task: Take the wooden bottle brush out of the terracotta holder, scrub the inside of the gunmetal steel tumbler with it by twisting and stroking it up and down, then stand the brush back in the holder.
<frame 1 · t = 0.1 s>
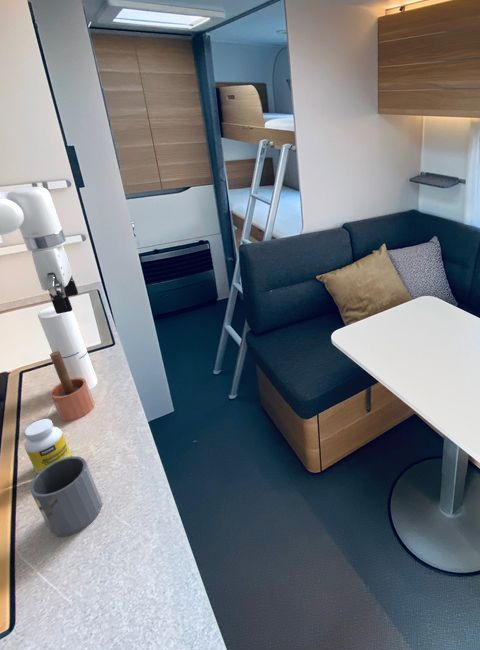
hand: (68, 303, 103), 28 cm above the worktop, tool pointing down, fingers open, 9 cm apart
tumbler: (76, 514, 81), on the worktop
holder: (77, 411, 108), on the worktop
brush: (77, 410, 107), resting on holder
pill bottle: (55, 466, 92), on the worktop
cylindrical container: (83, 387, 117), on the worktop
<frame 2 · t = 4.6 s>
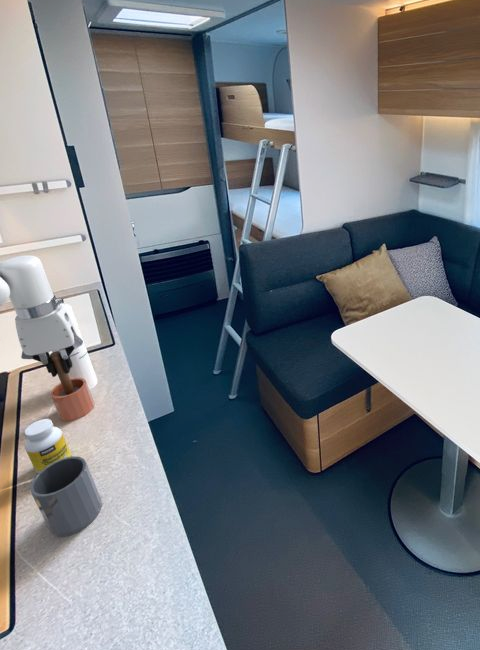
hand: (61, 371, 102), 13 cm above the worktop, tool pointing down, fingers closed on brush, 2 cm apart
brush: (77, 410, 107), point 1 cm above the worktop, touching gripper, holder
everything else where it was.
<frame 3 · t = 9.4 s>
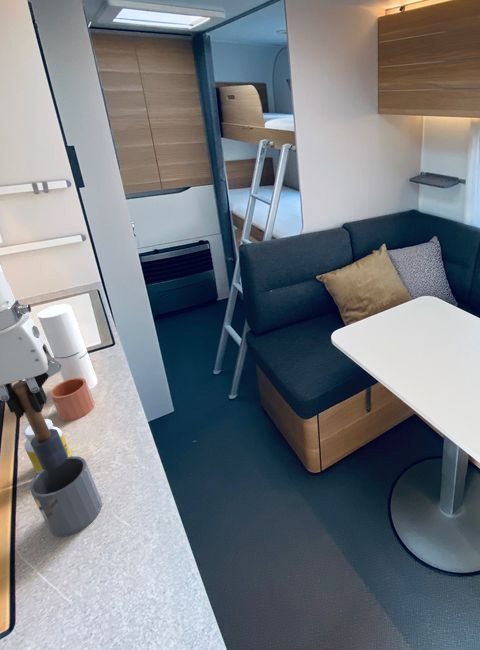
hand: (31, 409, 71), 26 cm above the worktop, tool pointing down, fingers closed on brush
brush: (55, 461, 76), point 14 cm above the worktop, touching gripper
everything else where it was.
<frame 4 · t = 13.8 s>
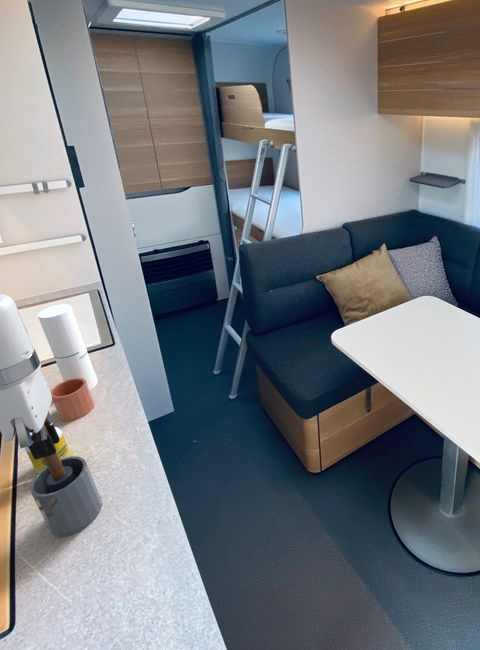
hand: (47, 449, 74), 18 cm above the worktop, tool pointing down, fingers closed on brush
brush: (69, 497, 79), point 5 cm above the worktop, touching gripper
everything else where it was.
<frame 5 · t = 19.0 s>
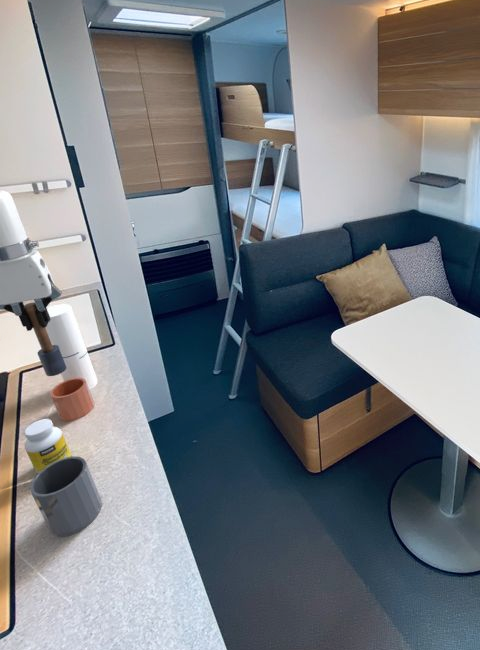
hand: (38, 325, 92), 29 cm above the worktop, tool pointing down, fingers closed on brush
brush: (56, 370, 97), point 17 cm above the worktop, touching gripper
everything else where it was.
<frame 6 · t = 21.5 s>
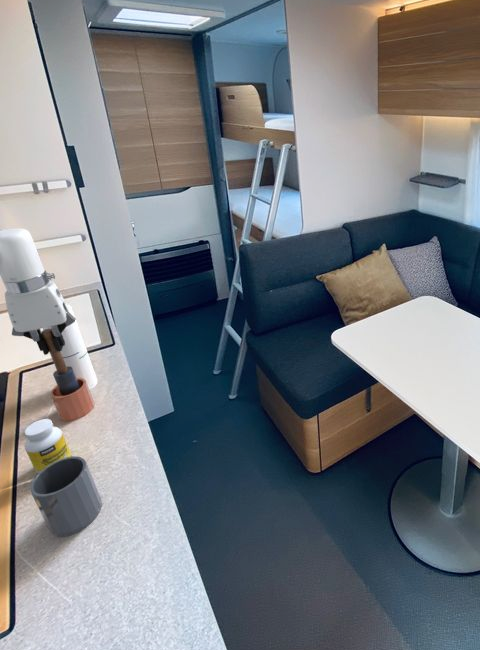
hand: (54, 349, 100), 20 cm above the worktop, tool pointing down, fingers closed on brush
brush: (70, 390, 105), point 7 cm above the worktop, touching gripper
everything else where it was.
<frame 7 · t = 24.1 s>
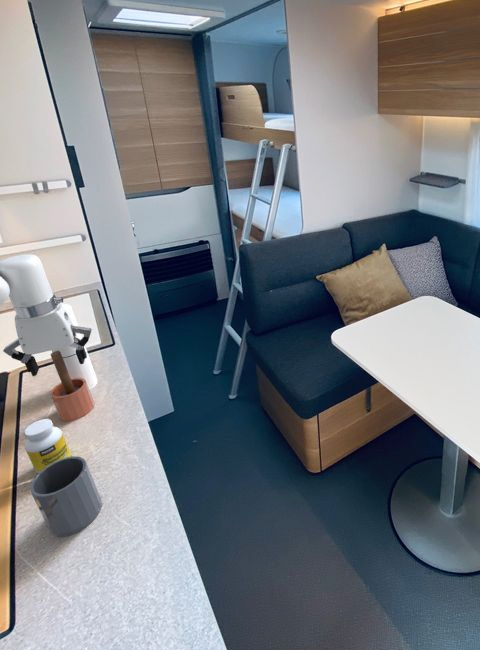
hand: (59, 366, 102), 14 cm above the worktop, tool pointing down, fingers open, 9 cm apart
brush: (77, 409, 107), resting on holder
everything else where it was.
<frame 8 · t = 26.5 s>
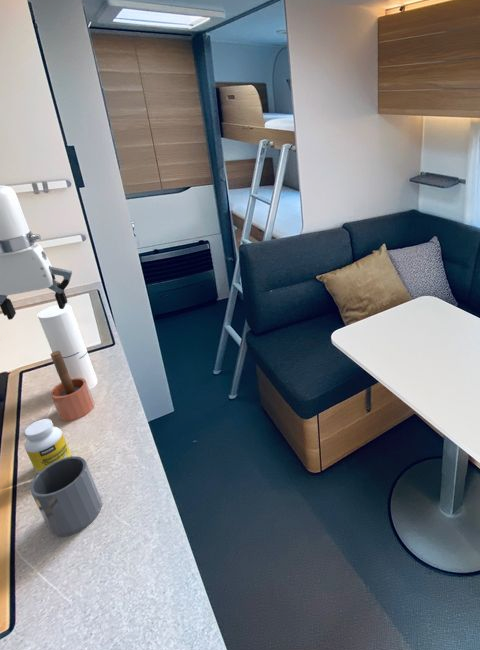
hand: (38, 311, 96), 30 cm above the worktop, tool pointing down, fingers open, 9 cm apart
nothing on the worktop moved.
at the end: brush 0.1 cm off-centre in the holder, point 0.5 cm above the holder's base; brush tilted 0°; brush touching holder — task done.
